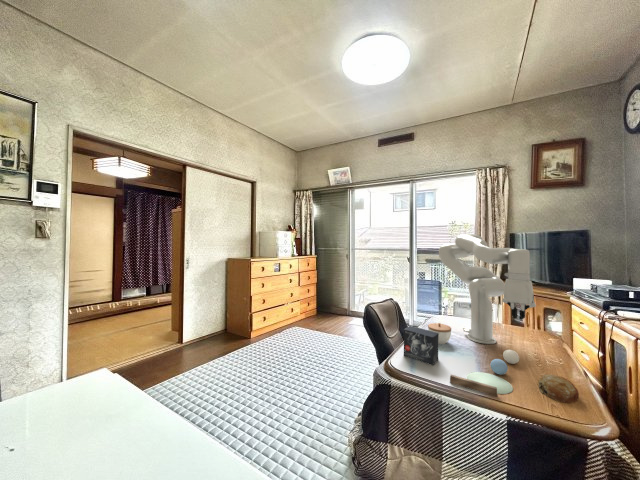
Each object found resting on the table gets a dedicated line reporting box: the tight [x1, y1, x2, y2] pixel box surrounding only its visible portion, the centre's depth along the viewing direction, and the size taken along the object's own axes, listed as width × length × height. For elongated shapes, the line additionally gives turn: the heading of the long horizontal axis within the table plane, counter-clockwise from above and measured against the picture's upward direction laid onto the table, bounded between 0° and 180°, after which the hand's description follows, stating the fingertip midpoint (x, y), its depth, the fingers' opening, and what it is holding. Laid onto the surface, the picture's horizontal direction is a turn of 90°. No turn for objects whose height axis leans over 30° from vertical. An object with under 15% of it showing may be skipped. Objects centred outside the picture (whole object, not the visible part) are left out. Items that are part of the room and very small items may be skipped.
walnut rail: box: [449, 374, 498, 397], centre depth 91 cm, size 14×1×2 cm, turn 54°
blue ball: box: [490, 358, 508, 375], centre depth 101 cm, size 6×6×6 cm
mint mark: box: [466, 371, 514, 395], centre depth 94 cm, size 14×14×1 cm
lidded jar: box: [427, 322, 452, 345], centre depth 132 cm, size 11×11×9 cm
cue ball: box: [502, 349, 520, 365], centre depth 109 cm, size 6×6×6 cm
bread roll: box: [538, 374, 580, 404], centre depth 88 cm, size 10×10×8 cm
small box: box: [403, 325, 439, 366], centre depth 114 cm, size 13×7×12 cm, turn 46°
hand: (518, 318), depth 115 cm, fingers closed
